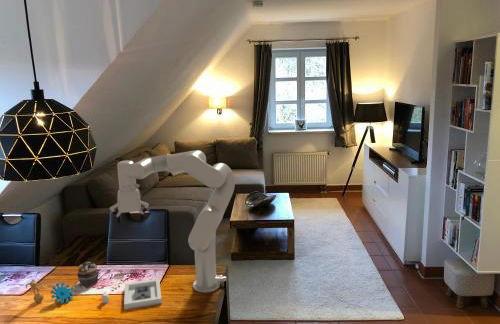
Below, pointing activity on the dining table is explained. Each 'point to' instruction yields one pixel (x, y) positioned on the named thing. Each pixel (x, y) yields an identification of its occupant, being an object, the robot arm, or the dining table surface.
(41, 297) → the figurine
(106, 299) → the white rounded knob
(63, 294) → the blue virus model
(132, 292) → the tray
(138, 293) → the grey square frame
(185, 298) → the dining table surface
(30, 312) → the dining table surface
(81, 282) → the cupcake
